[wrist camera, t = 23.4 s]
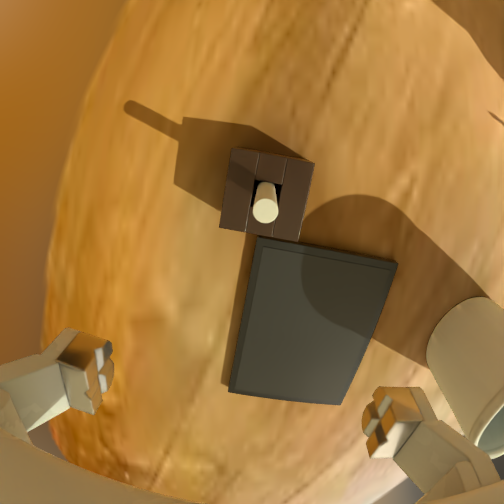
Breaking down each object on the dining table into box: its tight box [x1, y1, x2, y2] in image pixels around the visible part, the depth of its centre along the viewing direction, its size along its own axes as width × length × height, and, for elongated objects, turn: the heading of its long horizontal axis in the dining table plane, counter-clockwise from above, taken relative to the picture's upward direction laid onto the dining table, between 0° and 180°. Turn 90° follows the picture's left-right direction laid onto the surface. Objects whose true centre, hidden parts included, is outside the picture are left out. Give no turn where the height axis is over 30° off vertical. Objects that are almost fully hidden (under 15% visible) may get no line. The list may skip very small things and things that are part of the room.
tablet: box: [228, 235, 398, 405], centre depth 37 cm, size 16×22×1 cm
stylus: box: [253, 181, 278, 223], centre depth 26 cm, size 2×2×13 cm
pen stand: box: [219, 147, 315, 242], centre depth 30 cm, size 7×7×5 cm
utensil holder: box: [426, 297, 504, 459], centre depth 29 cm, size 15×15×18 cm
